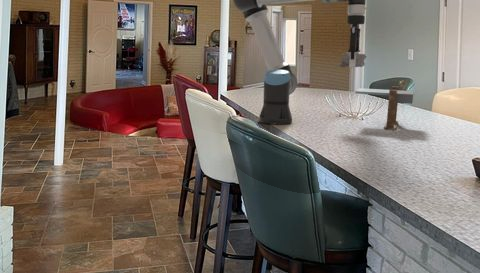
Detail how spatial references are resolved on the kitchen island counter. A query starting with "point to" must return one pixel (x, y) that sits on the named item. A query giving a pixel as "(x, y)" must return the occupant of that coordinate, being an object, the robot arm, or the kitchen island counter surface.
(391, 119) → the frame
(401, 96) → the trapdoor
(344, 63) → the stone
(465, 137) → the kitchen island counter surface
